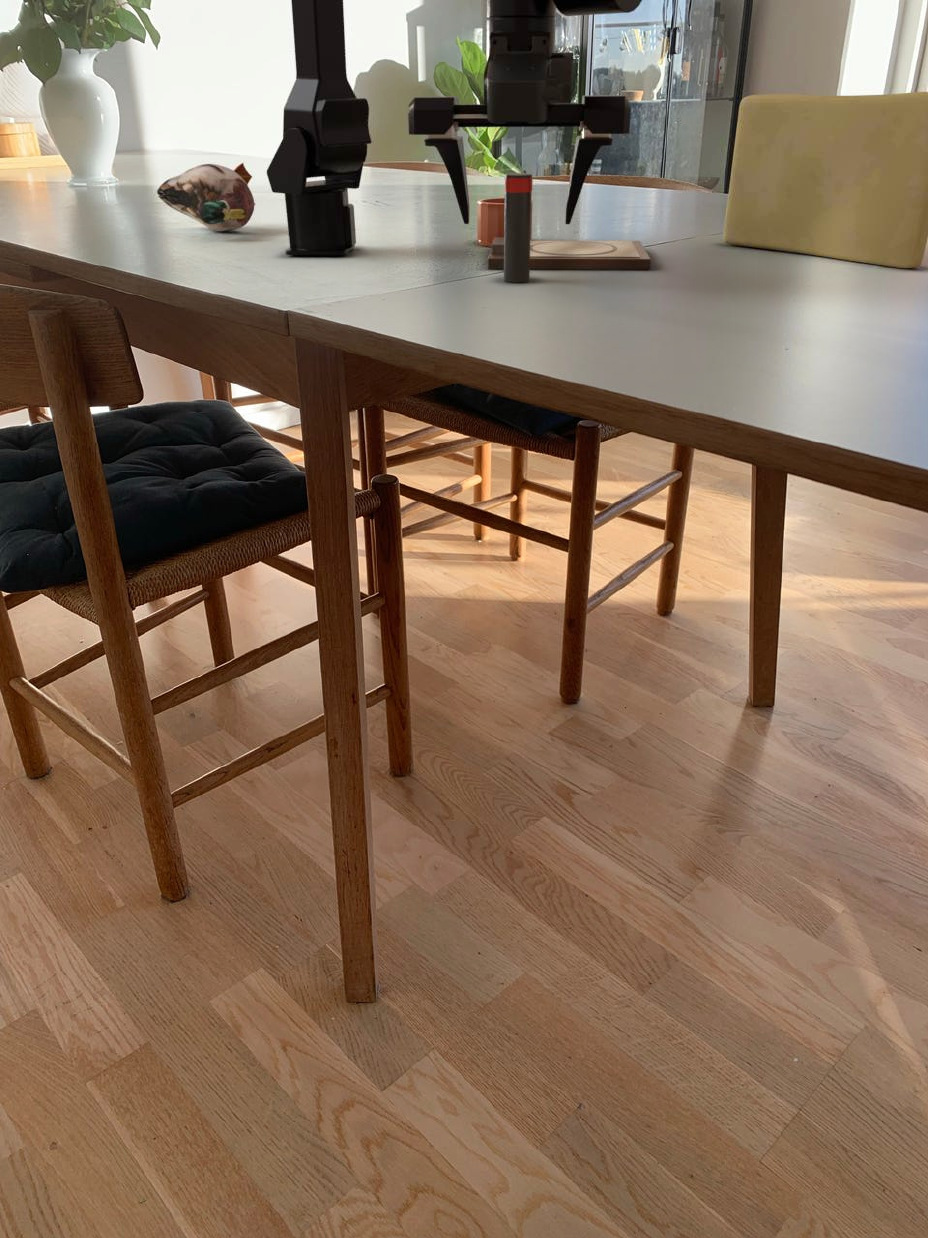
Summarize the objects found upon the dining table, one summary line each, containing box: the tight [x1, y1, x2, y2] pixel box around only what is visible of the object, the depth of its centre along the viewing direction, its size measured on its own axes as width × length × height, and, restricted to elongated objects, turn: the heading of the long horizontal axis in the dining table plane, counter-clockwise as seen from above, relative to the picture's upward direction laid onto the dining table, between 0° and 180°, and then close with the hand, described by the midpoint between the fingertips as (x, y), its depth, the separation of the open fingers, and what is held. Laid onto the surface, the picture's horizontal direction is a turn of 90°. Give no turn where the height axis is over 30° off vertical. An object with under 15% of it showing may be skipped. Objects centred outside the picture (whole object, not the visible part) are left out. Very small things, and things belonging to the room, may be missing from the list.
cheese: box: [722, 91, 928, 269], centre depth 93 cm, size 22×10×15 cm, turn 31°
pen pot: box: [476, 197, 534, 248], centre depth 104 cm, size 6×6×4 cm
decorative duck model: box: [156, 162, 256, 232], centre depth 113 cm, size 15×8×15 cm
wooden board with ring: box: [487, 237, 652, 271], centre depth 95 cm, size 16×12×2 cm
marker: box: [503, 172, 534, 284], centre depth 83 cm, size 2×2×9 cm
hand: (516, 223), depth 83 cm, fingers open, 9 cm apart
